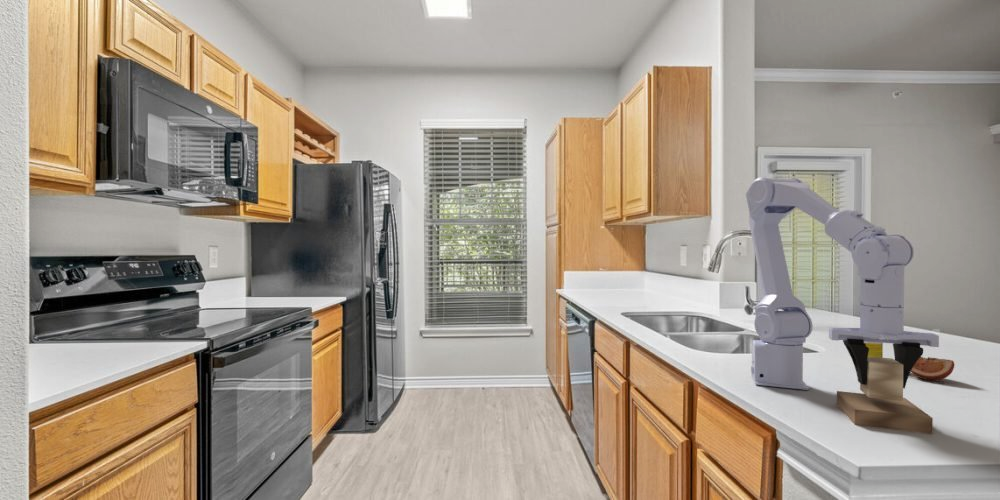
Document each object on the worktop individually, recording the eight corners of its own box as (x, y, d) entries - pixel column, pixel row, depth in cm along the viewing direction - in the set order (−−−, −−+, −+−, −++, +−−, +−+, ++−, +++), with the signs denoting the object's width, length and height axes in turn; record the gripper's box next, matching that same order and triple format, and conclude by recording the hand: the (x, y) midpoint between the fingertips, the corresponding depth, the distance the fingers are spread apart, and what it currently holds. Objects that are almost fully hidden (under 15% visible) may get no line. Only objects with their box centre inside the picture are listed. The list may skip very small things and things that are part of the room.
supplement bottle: (887, 369, 108) (887, 333, 108) (864, 368, 109) (864, 333, 109) (874, 363, 113) (875, 329, 113) (853, 362, 114) (853, 329, 114)
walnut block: (854, 427, 76) (854, 409, 76) (836, 407, 85) (836, 390, 85) (932, 437, 72) (932, 418, 72) (904, 414, 81) (904, 397, 81)
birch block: (869, 397, 77) (869, 362, 77) (860, 389, 81) (860, 356, 81) (902, 401, 75) (903, 364, 75) (891, 392, 79) (892, 358, 79)
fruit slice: (897, 376, 102) (898, 354, 102) (908, 372, 106) (908, 350, 106) (949, 386, 95) (949, 362, 95) (958, 381, 99) (958, 358, 99)
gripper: (837, 306, 77) (836, 386, 77) (949, 311, 71) (947, 397, 72) (825, 301, 84) (825, 375, 84) (927, 305, 78) (926, 384, 78)
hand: (880, 384), depth 78 cm, fingers closed on birch block, 4 cm apart
